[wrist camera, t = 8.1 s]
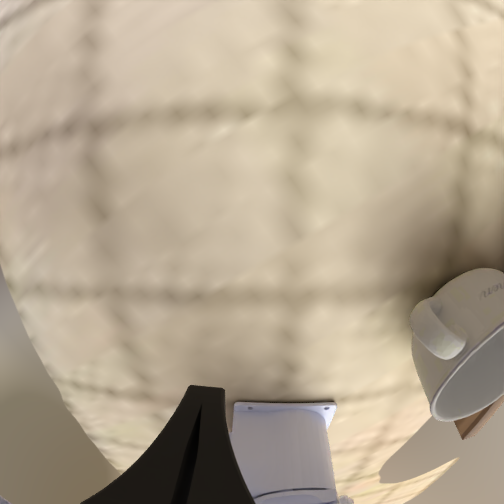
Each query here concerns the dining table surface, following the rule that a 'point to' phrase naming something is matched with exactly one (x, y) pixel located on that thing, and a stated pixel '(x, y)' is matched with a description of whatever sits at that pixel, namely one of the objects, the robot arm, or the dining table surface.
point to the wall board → (477, 419)
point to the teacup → (461, 344)
